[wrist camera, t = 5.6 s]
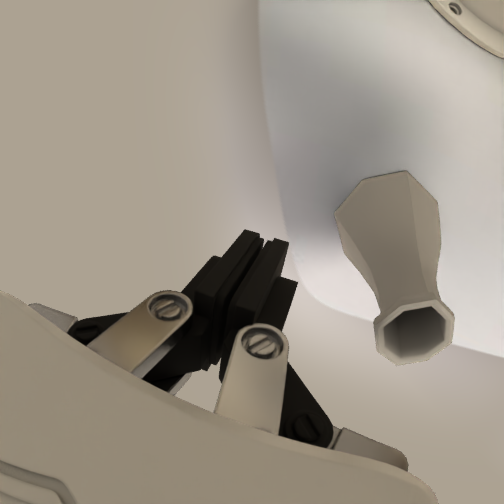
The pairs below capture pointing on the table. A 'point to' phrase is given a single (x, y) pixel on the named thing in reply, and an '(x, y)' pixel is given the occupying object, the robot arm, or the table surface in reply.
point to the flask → (398, 263)
